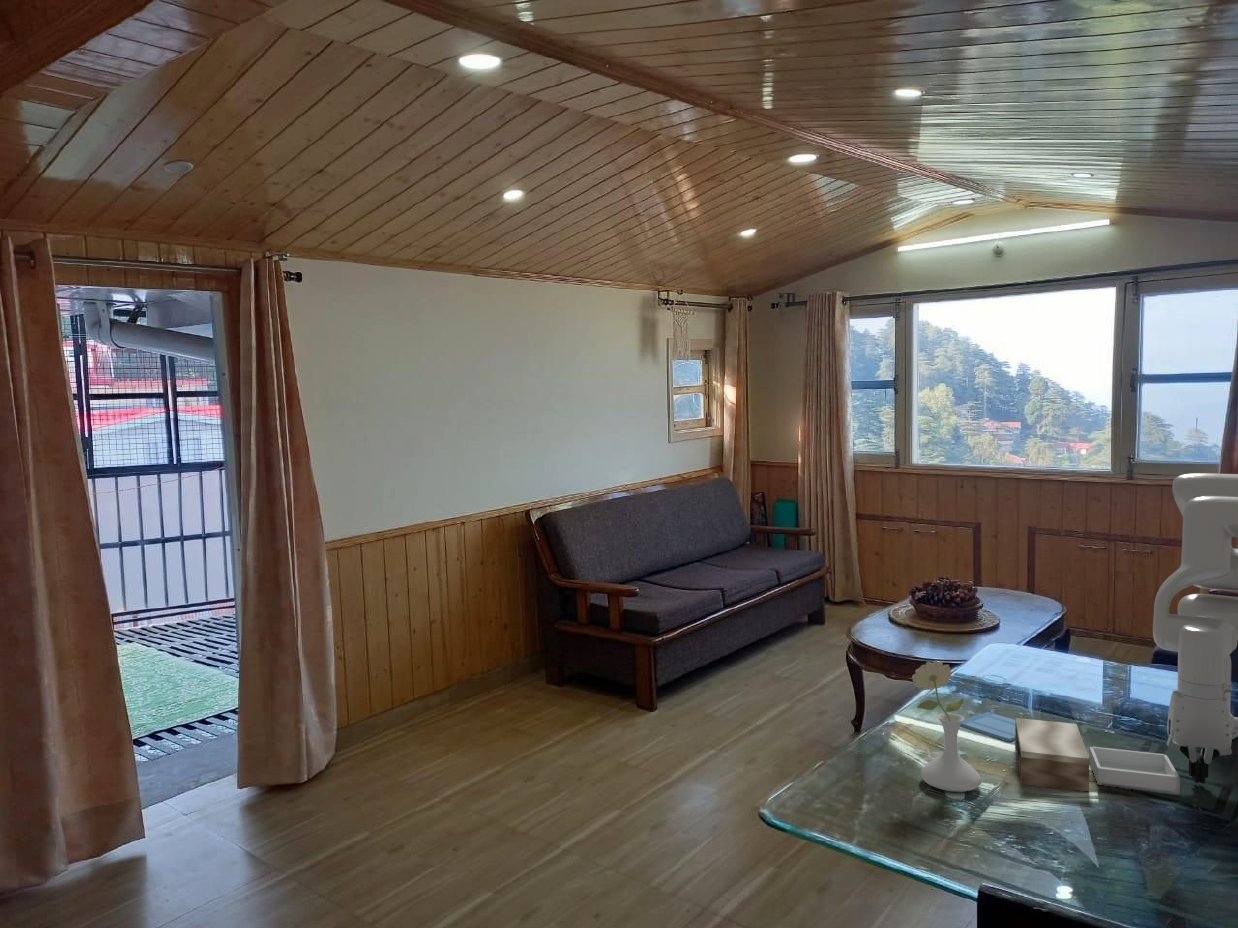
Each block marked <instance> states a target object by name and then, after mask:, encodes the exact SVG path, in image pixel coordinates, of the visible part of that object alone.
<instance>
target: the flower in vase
mask: <svg viewBox="0 0 1238 928" xmlns="http://www.w3.org/2000/svg"><path fill="white" fill-rule="evenodd" d="M943 663H944V662H943V661H937V660H934V661H932V662H931V661H926V663H925V664H921V665H920V667H918V668H917V669H915V672H914V674H913V675H912V676H911V679H912V681H913V683H914V686H915V687H916V688H918V689H923V690H924V691H926V690H927V691H928V690H930V691H933V690H934V689H935V694H936V696H935V697H936V701H935V700H931V699H928V700H924V701H922V702H920V703H919V704H918V705H917V706H916V708H917V709H923V710H927V711H932V710H934V709H936V708H937V707H938V706H939V707H940V708H941V711H942V712H943V713H939V714H937V718H938V720H939V722H940V723H941V725H942V729H943V735H944V748H943V749H944V750H943V751H942V754H940V755H939V756H938V757H936V758H934V759H932V760H931V761H929V762H927V763H925V765H924V766H923V767H922V769H921V771H920V777H921V778H922V779H923V781H924V782H925V783H927V784H928V785H929V786H932V787H933V788H936V789H939V790H942V791H947V792H955V793H957V792H958V793H959V792H962V793H963V792H967V791H968V792H970V791H973V790H976V789H977V788H979V786H980V785H981V784H982V779H981V776H980V773H979V772H978V771H977V770H976V769H975V767H973V766H972V765H971V764H970V763H968V762H967V761H965V760H964V759H963V758H962V757H961V756H960V755H959V752H958V747H957V746H958V743H957V742H958V734H959V729H960V727H961V726H960V725H961V723H962V722H963V721H964V720H965V717H964V716H962V715H960V714H956V713H950V712H956V711H958V710H959V709H960V708H961V707H962V706H963V703H964V698H961V699H958V700H954V701H952V702H951V701H950V702H949V703H948V704H947V705H946V708H944V707H943V705H942V703H941V702H940V699H939V694H938V689H940V687H944V686H946V685H947V683H949V682H950V680H951V679H952V678H953V676H952V674H953V673H952V671H951V667H950V664H943Z"/></svg>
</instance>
